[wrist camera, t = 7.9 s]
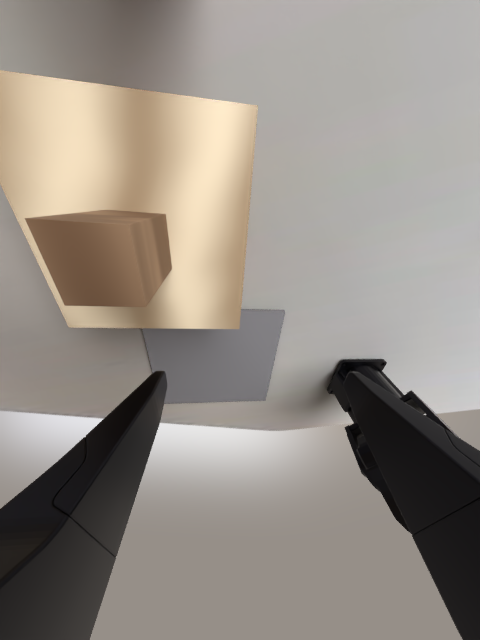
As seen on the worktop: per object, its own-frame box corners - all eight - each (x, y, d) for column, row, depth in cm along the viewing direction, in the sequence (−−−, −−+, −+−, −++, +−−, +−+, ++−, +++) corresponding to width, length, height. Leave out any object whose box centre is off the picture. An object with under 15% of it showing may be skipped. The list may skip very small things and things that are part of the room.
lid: (255, 112, 9) (294, 16, 4) (238, 323, 16) (246, 381, 11) (-35, 74, 8) (-445, -126, 3) (76, 321, 14) (0, 385, 9)
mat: (283, 310, 21) (285, 312, 21) (264, 397, 29) (265, 400, 29) (139, 307, 19) (137, 309, 19) (160, 400, 27) (159, 403, 27)
